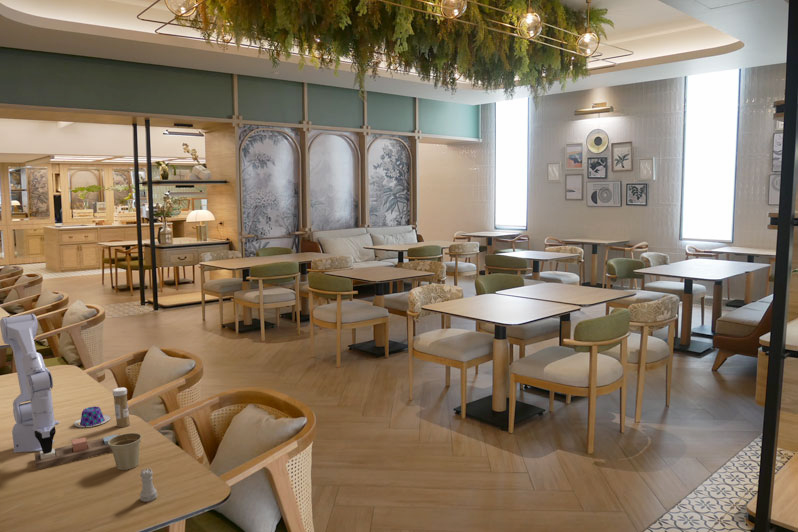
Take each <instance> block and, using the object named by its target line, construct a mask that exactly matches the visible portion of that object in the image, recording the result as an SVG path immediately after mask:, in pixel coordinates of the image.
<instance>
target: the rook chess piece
mask: <svg viewBox="0 0 798 532" xmlns="http://www.w3.org/2000/svg"><path fill="white" fill-rule="evenodd" d="M153 474H154V472H153V470H152V468H150V467H149V468H148V467H147V468H144V469H142V470H141V473H140V474H139V476H140V477H141V482H142V487H141V488H142V489H141V491H140V494H139V499H140V501H141V502H143V503H148V502H153V501H154V500H155V499H157V497H158V490H157V489H156V488H155V486H154V483H153V479H154V477H153Z"/></svg>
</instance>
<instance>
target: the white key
mask: <svg viewBox="0 0 798 532" xmlns="http://www.w3.org/2000/svg"><path fill="white" fill-rule="evenodd" d="M55 449H56V448H52V451H51V452H50V453H45V454H44V453H43V451H39V452H40V457H41V460H42V459H47V458H51V457H55V456H56V455H55Z"/></svg>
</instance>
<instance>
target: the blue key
mask: <svg viewBox="0 0 798 532" xmlns="http://www.w3.org/2000/svg"><path fill="white" fill-rule="evenodd" d="M117 435H118V434H113V435H108V436H104V437H102V438H103V443H104V445H108V441H109V440H110V439H111V438H113V437H115V436H117Z"/></svg>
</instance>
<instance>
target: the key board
mask: <svg viewBox="0 0 798 532" xmlns="http://www.w3.org/2000/svg"><path fill="white" fill-rule="evenodd" d="M116 435H117V436H118V435H121V434H116ZM87 447H88V449H86V450H81V451H77V452H73V447H72V444H70V445H66V446H62V447H57V448H54V449H55V455H56V456H55V457H51V458H47V459H42V460H41V457H40V451H37V452H35V453H34V462H35V470H36V471H38V470H42V469H45V468H49V467H55V466H60V465H62V464H63V463H64V464H67V462H68V463H71V461H72V462H76V461H80V459H81V460H84V458H85V459H89V458H93V457H96V455H98V456H102V455H105V453H106V454H109V453H113V452H112V449H111V448H110V445H109V444H108V445H104V443H103V437H102V438H101V437H100V438H97V439H93V440H88V441H87ZM101 454H102V455H101ZM92 456H93V457H92ZM88 457H89V458H88ZM75 460H76V461H75Z"/></svg>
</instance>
